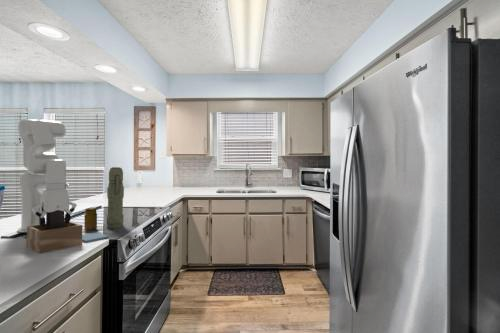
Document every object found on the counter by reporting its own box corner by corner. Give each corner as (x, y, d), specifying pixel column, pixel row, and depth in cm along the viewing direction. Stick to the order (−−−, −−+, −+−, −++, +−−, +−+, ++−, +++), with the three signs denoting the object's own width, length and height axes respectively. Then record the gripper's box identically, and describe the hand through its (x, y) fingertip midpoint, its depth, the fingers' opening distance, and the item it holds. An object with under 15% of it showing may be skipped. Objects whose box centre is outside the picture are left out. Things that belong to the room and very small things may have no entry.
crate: (26, 246, 124) (27, 226, 123) (67, 238, 137) (67, 220, 137) (39, 253, 115) (40, 231, 115) (82, 244, 128) (82, 225, 128)
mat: (74, 238, 138) (74, 236, 138) (95, 234, 147) (95, 232, 147) (85, 242, 131) (85, 240, 131) (107, 238, 140) (107, 236, 140)
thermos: (119, 224, 171) (120, 167, 170) (126, 227, 162) (127, 167, 162) (104, 225, 165) (105, 167, 165) (109, 229, 156) (110, 167, 156)
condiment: (87, 228, 158) (87, 207, 158) (102, 228, 159) (103, 207, 159) (80, 231, 151) (81, 209, 151) (97, 231, 152) (97, 209, 151)
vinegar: (47, 244, 127) (47, 200, 127) (64, 242, 131) (65, 200, 130) (44, 248, 121) (44, 202, 121) (62, 246, 125) (63, 202, 124)
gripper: (72, 185, 135) (72, 220, 135) (29, 187, 121) (28, 226, 121) (80, 186, 131) (79, 222, 131) (36, 188, 116) (35, 229, 117)
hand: (55, 224), depth 126 cm, fingers open, 9 cm apart
